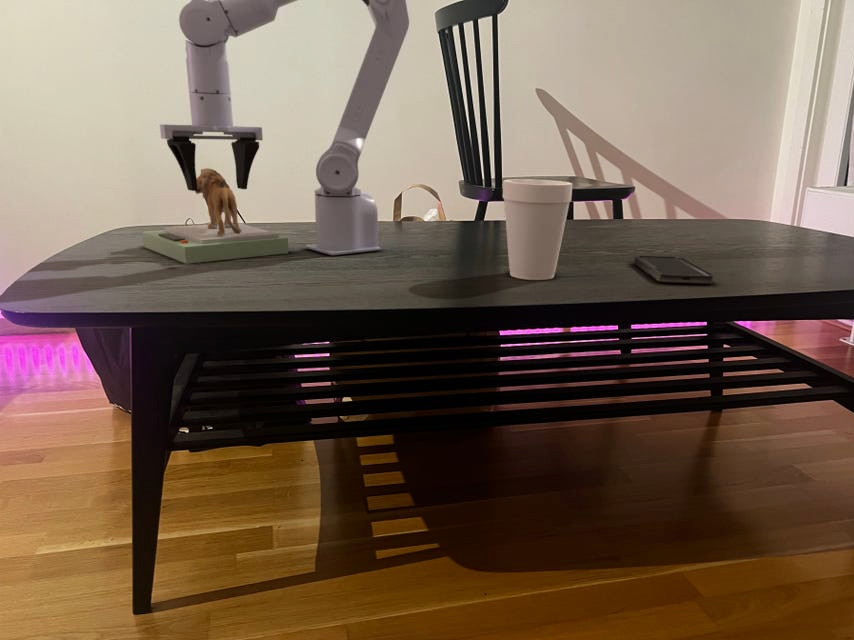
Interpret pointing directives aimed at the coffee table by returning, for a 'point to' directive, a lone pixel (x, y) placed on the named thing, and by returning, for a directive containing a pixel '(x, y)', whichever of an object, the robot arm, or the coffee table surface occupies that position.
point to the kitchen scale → (214, 243)
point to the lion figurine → (218, 200)
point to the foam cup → (535, 225)
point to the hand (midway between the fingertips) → (217, 189)
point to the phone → (673, 270)
